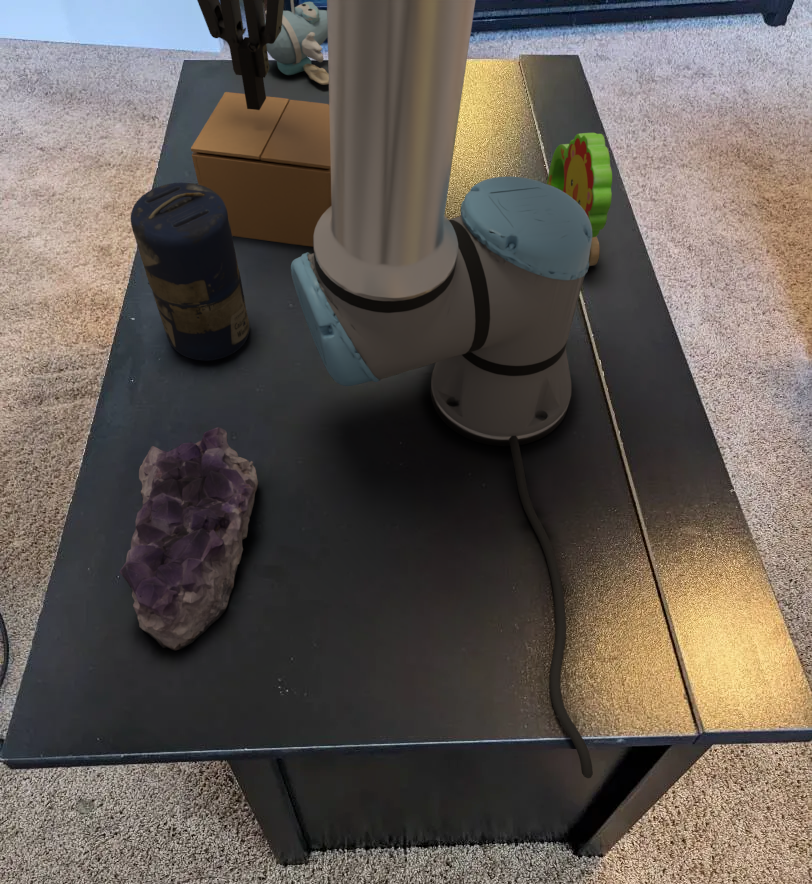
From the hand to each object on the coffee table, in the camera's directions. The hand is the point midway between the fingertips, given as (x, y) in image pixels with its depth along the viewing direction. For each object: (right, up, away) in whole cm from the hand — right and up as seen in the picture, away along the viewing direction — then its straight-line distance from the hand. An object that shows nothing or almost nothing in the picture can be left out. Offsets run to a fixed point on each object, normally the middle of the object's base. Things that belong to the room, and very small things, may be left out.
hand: (256, 103), depth 89 cm
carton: (+2, -8, +12) cm, 14 cm away
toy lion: (+38, -13, +9) cm, 41 cm away
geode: (-2, -53, -17) cm, 56 cm away
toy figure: (-4, +24, +26) cm, 35 cm away
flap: (-2, -1, +3) cm, 4 cm away
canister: (-5, -28, -1) cm, 29 cm away
